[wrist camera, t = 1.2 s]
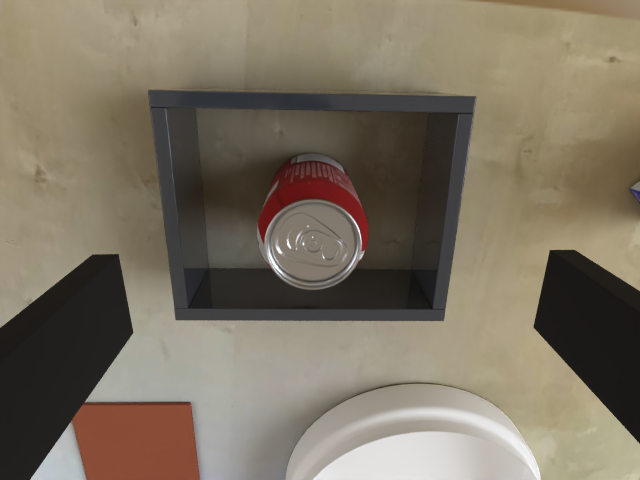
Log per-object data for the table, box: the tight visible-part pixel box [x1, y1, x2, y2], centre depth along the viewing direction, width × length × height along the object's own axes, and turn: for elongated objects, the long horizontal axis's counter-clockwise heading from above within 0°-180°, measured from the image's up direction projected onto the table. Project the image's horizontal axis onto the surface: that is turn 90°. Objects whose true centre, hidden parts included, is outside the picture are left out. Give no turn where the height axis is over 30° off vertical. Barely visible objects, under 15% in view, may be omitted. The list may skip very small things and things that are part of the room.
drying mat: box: [72, 402, 200, 480], centre depth 45 cm, size 18×12×1 cm, turn 179°
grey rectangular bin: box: [148, 88, 476, 321], centre depth 31 cm, size 16×20×7 cm
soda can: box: [257, 153, 369, 290], centre depth 29 cm, size 7×7×12 cm
